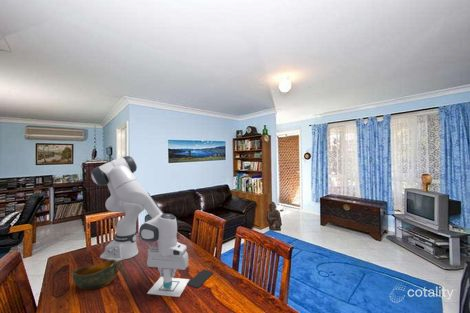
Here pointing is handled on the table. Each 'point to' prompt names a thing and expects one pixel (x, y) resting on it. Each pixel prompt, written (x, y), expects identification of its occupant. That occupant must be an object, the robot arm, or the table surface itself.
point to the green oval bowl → (96, 275)
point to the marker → (167, 277)
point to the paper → (174, 290)
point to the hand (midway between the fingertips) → (167, 276)
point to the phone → (200, 278)
